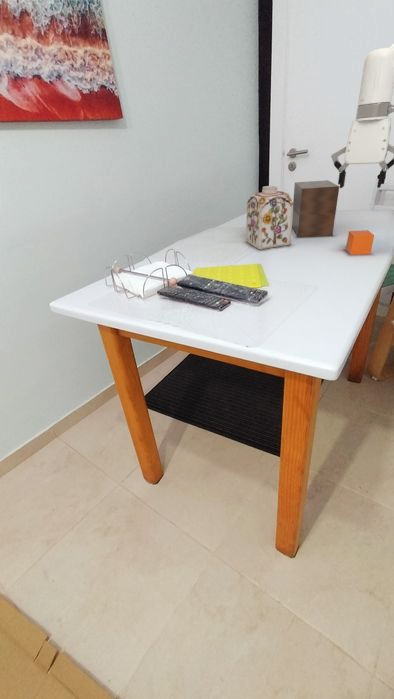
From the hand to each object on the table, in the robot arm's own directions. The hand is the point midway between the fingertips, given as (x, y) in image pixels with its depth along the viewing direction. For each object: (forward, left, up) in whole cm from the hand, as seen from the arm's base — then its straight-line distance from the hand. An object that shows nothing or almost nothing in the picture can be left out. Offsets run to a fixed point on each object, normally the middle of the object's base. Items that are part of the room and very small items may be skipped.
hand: (359, 187), depth 95 cm
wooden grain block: (+7, -26, -18) cm, 33 cm away
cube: (-2, +2, -18) cm, 18 cm away
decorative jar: (+24, -11, -18) cm, 32 cm away
